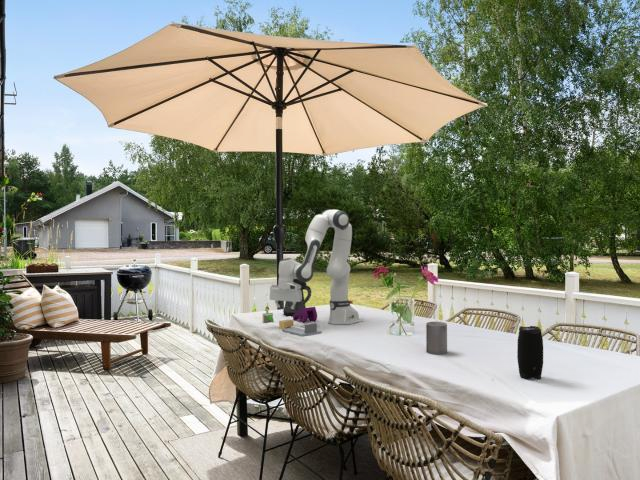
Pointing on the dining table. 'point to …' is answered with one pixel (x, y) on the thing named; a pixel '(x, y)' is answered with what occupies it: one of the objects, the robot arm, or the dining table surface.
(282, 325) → the module
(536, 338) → the portable speaker
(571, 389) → the dining table surface
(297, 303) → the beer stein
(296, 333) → the backplate
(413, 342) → the dining table surface
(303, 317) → the mounting bracket
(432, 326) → the pillar candle
